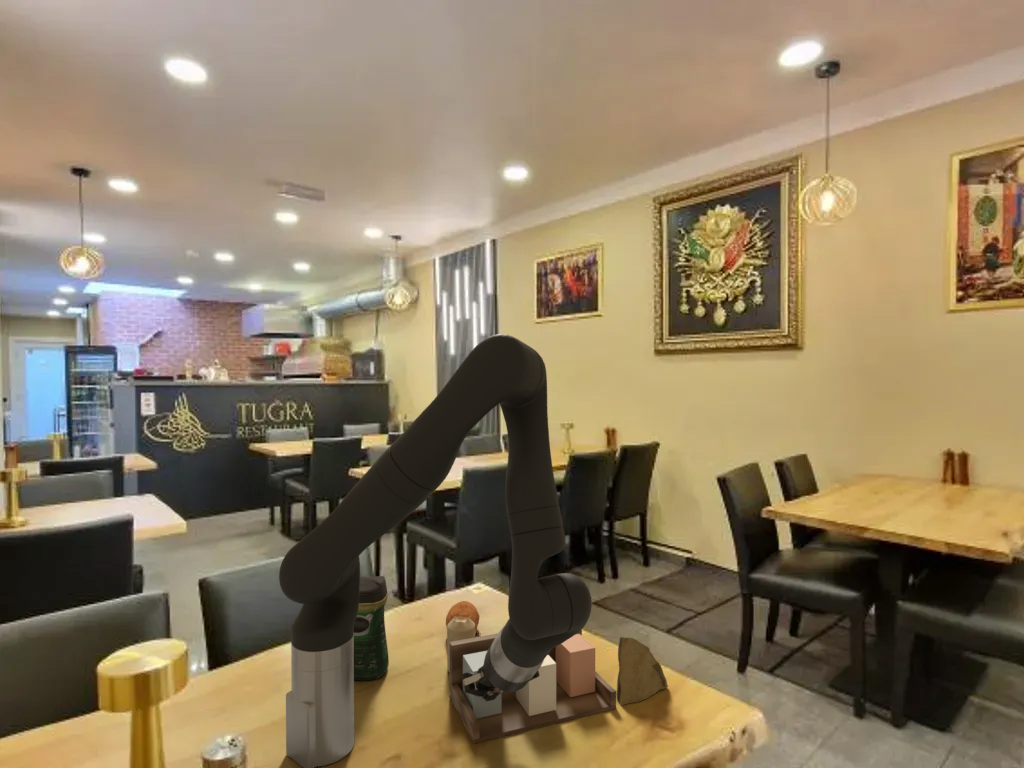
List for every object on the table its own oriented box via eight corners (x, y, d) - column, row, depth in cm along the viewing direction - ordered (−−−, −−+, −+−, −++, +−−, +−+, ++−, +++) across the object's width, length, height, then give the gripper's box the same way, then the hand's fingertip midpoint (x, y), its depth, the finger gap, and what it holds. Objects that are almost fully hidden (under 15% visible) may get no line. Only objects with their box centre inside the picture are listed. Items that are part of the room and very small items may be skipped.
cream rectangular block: (556, 709, 99) (556, 663, 99) (529, 716, 97) (529, 668, 97) (541, 691, 104) (541, 647, 104) (515, 697, 102) (515, 652, 102)
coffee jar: (391, 661, 117) (391, 570, 116) (383, 682, 109) (383, 584, 109) (343, 662, 117) (343, 570, 116) (332, 683, 109) (331, 585, 108)
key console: (616, 708, 101) (616, 651, 100) (473, 743, 91) (473, 680, 91) (578, 669, 114) (578, 619, 113) (449, 697, 104) (449, 642, 104)
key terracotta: (595, 691, 104) (595, 647, 104) (570, 697, 103) (570, 652, 102) (579, 675, 110) (579, 633, 110) (555, 680, 108) (555, 638, 108)
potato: (441, 647, 123) (441, 614, 123) (451, 621, 136) (451, 591, 136) (474, 648, 122) (474, 615, 122) (482, 622, 135) (482, 592, 135)
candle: (477, 661, 117) (477, 612, 117) (472, 676, 111) (472, 624, 111) (450, 660, 117) (450, 611, 117) (444, 674, 112) (444, 623, 112)
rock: (664, 663, 112) (612, 654, 112) (675, 641, 106) (620, 632, 107) (668, 723, 103) (612, 713, 104) (680, 702, 98) (621, 692, 98)
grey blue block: (501, 712, 98) (501, 666, 98) (473, 719, 96) (473, 671, 96) (489, 694, 103) (489, 650, 103) (462, 700, 102) (462, 655, 101)
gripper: (549, 622, 90) (518, 663, 101) (467, 636, 85) (445, 678, 96) (564, 672, 85) (531, 710, 96) (478, 690, 80) (454, 728, 91)
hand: (488, 694), depth 96 cm, fingers closed
